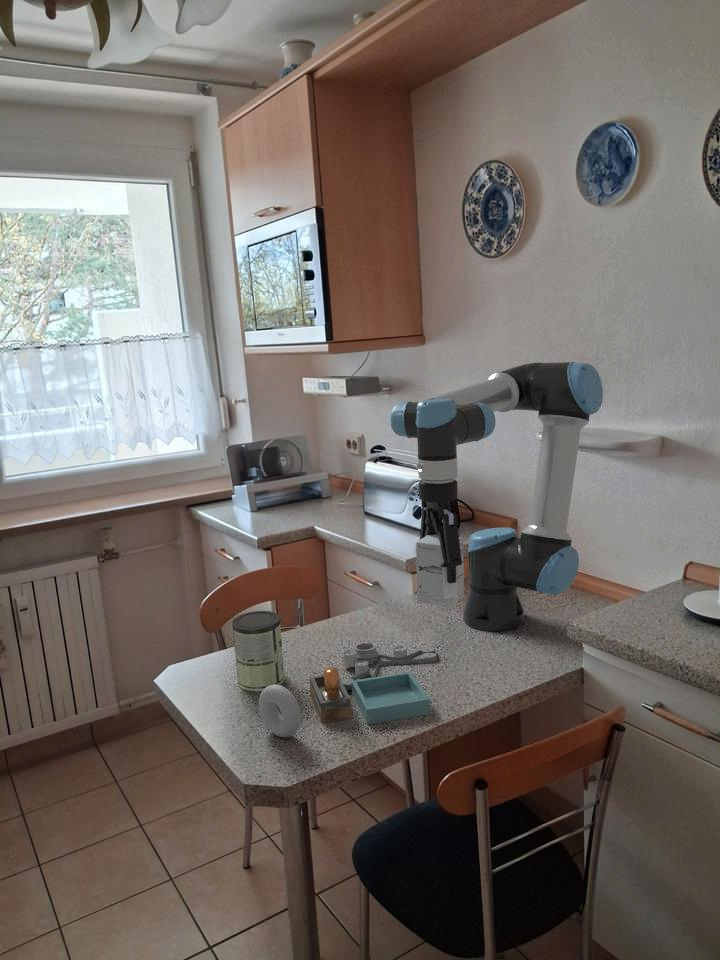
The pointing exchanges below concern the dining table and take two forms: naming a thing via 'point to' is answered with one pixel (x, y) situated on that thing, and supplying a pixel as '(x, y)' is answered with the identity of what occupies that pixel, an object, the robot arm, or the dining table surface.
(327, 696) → the copper rounded cylinder
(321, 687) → the base
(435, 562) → the supplement box
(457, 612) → the dining table surface
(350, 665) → the pulley system
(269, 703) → the donut
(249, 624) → the coffee can
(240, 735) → the dining table surface
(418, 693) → the tray
